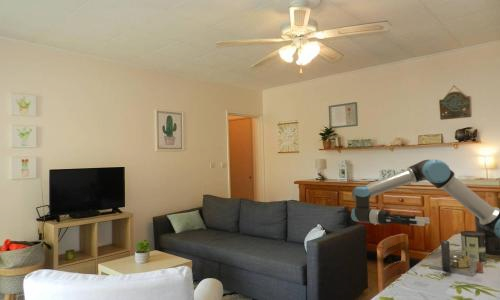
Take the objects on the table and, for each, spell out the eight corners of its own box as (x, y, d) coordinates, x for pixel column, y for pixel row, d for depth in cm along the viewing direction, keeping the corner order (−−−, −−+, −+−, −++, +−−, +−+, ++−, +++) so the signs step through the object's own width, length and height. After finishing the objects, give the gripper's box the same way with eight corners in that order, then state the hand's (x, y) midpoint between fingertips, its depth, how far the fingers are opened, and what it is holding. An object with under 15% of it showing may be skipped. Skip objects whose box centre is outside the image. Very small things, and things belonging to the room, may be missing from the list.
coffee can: (480, 258, 173) (479, 230, 174) (490, 264, 163) (488, 235, 164) (458, 257, 175) (457, 230, 176) (467, 263, 165) (465, 235, 166)
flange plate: (440, 259, 174) (440, 248, 174) (487, 267, 159) (487, 255, 160) (429, 268, 161) (428, 256, 161) (478, 277, 147) (477, 264, 147)
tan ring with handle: (445, 258, 169) (444, 232, 170) (472, 262, 161) (471, 235, 161) (431, 269, 154) (429, 240, 155) (460, 274, 146) (458, 244, 146)
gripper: (388, 221, 185) (434, 226, 168) (372, 227, 171) (420, 233, 155) (387, 207, 185) (433, 211, 169) (371, 212, 171) (419, 217, 155)
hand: (426, 221), depth 162 cm, fingers open, 6 cm apart
